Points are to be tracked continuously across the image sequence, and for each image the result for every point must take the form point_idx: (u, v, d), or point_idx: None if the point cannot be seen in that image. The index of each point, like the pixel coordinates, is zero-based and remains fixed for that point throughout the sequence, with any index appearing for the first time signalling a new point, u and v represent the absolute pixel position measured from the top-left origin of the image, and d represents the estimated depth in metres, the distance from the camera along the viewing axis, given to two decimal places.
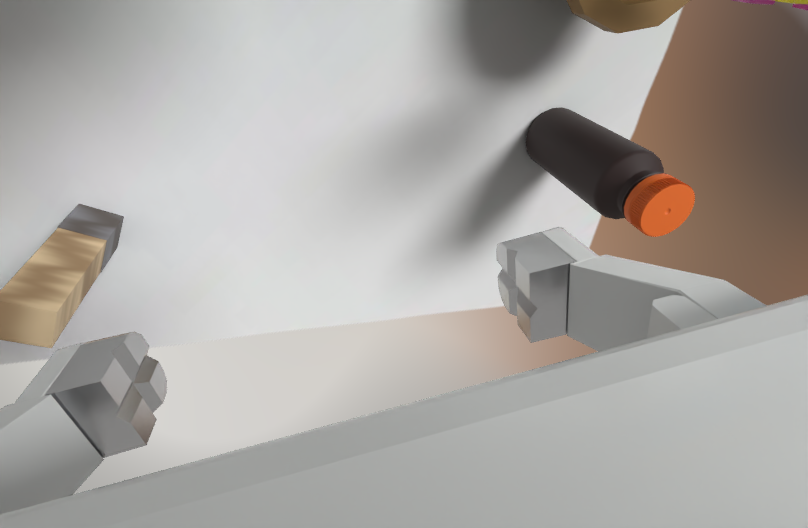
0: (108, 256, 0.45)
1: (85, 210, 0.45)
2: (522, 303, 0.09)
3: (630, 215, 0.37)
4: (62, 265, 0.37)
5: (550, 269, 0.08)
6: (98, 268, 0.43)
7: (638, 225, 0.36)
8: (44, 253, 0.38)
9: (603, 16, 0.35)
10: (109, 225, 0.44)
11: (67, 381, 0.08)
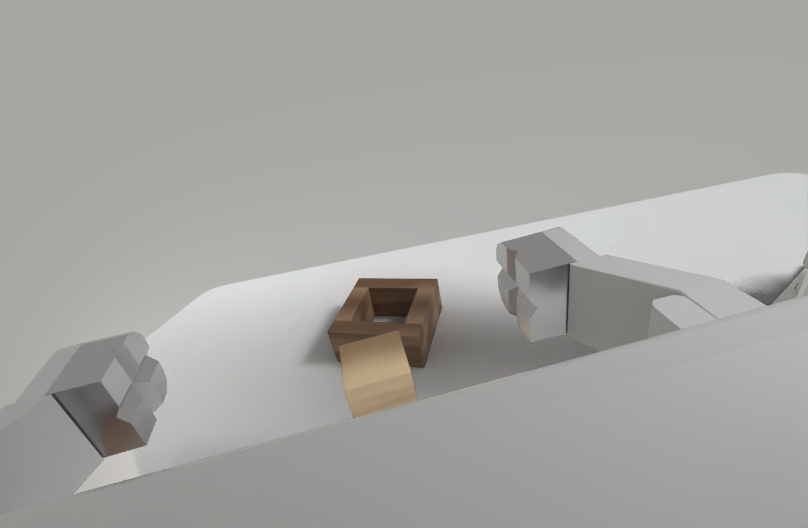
0: None
1: None
2: (522, 303, 0.09)
3: None
4: None
5: (550, 269, 0.08)
6: None
7: None
8: None
9: None
10: None
11: (67, 381, 0.08)
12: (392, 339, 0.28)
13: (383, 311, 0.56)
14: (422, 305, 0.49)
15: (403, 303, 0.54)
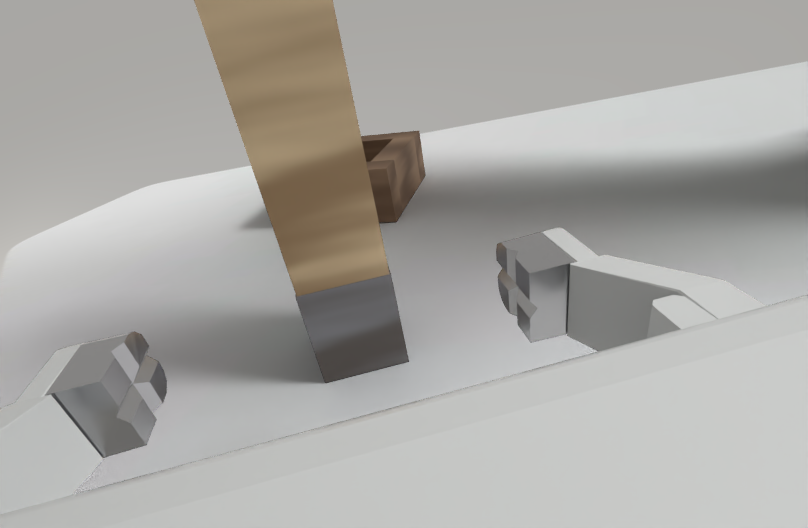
0: (325, 326, 0.19)
1: None
2: (522, 303, 0.09)
3: None
4: None
5: (550, 269, 0.08)
6: (319, 267, 0.18)
7: None
8: None
9: None
10: None
11: (67, 381, 0.08)
12: None
13: None
14: (397, 148, 0.37)
15: None
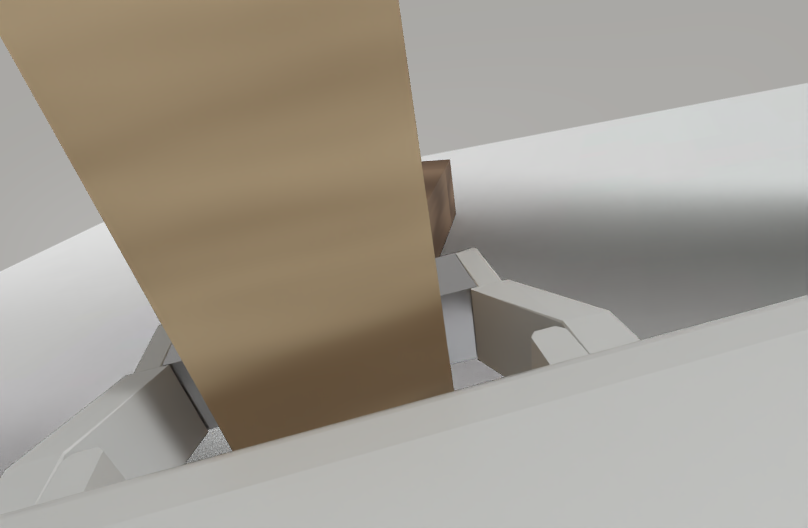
0: None
1: None
2: None
3: None
4: None
5: (451, 294, 0.08)
6: None
7: None
8: None
9: None
10: None
11: None
12: None
13: None
14: (425, 186, 0.28)
15: None
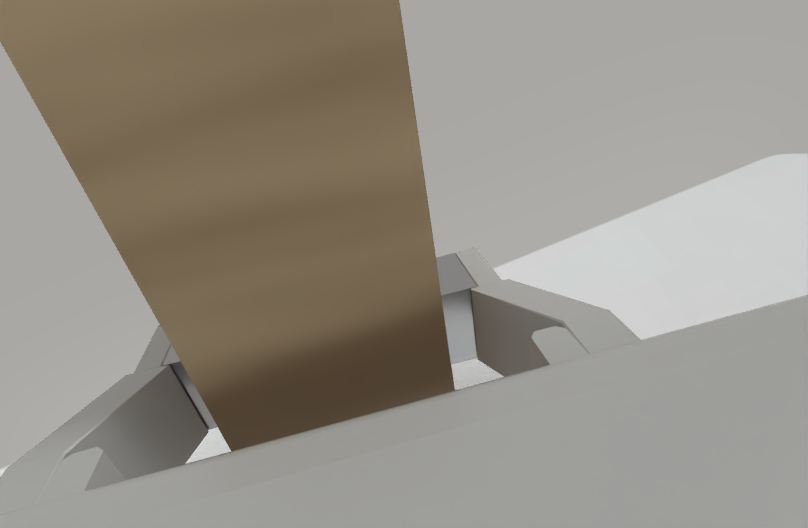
0: None
1: None
2: None
3: None
4: None
5: (451, 294, 0.08)
6: None
7: None
8: None
9: None
10: None
11: None
12: None
13: None
14: None
15: None
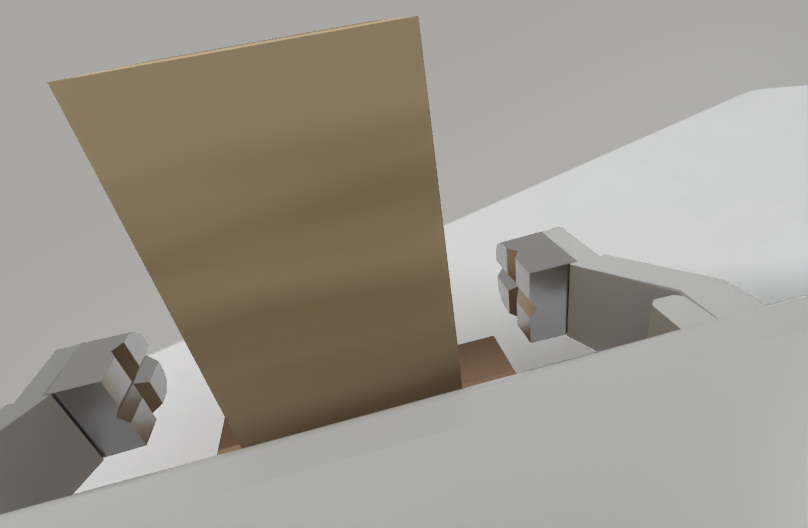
0: None
1: None
2: (522, 303, 0.09)
3: None
4: None
5: (550, 269, 0.08)
6: None
7: None
8: None
9: None
10: None
11: (67, 381, 0.08)
12: (348, 25, 0.08)
13: None
14: None
15: None
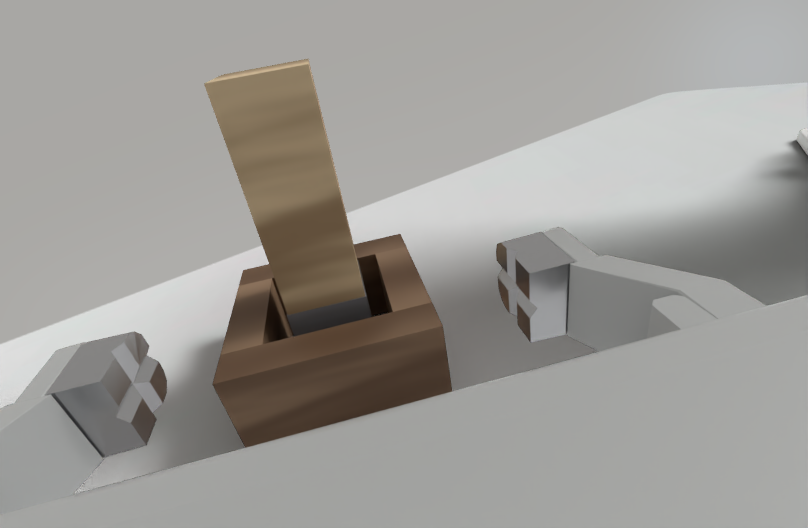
0: None
1: None
2: (522, 303, 0.09)
3: None
4: None
5: (550, 269, 0.08)
6: (306, 291, 0.21)
7: None
8: None
9: None
10: None
11: (67, 381, 0.08)
12: (296, 61, 0.20)
13: None
14: (406, 274, 0.24)
15: None
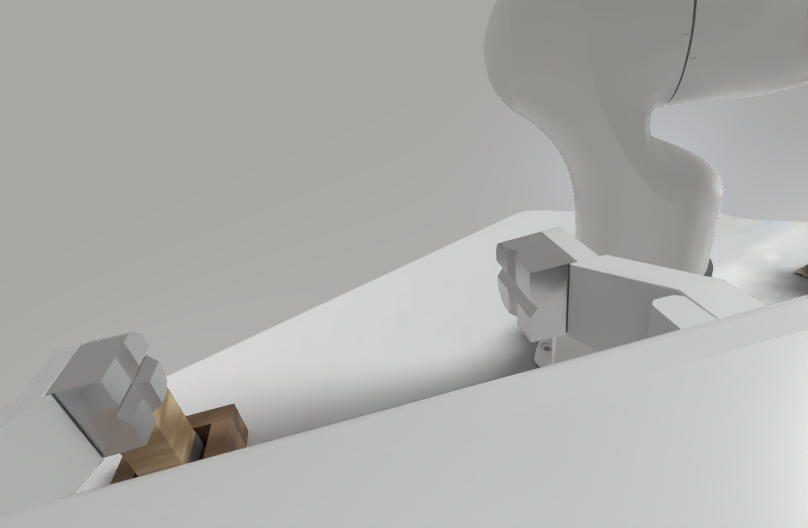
0: None
1: None
2: (522, 303, 0.09)
3: None
4: (165, 414, 0.38)
5: (550, 269, 0.08)
6: (149, 469, 0.39)
7: None
8: (175, 408, 0.40)
9: None
10: None
11: (67, 381, 0.08)
12: None
13: None
14: (219, 446, 0.42)
15: None
